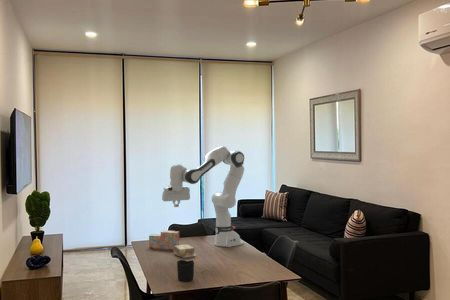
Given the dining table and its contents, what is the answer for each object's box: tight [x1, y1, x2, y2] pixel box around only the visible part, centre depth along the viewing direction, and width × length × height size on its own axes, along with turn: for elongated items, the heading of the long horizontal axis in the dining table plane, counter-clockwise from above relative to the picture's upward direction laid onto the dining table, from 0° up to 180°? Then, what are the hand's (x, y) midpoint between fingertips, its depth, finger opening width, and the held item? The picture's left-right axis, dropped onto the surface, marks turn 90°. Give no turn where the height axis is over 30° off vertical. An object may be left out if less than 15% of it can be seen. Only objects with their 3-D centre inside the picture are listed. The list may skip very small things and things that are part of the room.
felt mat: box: [181, 253, 197, 258], centre depth 296 cm, size 10×12×1 cm
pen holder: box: [176, 259, 195, 283], centre depth 241 cm, size 9×9×10 cm
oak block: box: [173, 244, 195, 258], centre depth 295 cm, size 5×12×10 cm
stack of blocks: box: [148, 230, 180, 251], centre depth 316 cm, size 21×6×12 cm, turn 76°
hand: (176, 207), depth 307 cm, fingers closed
